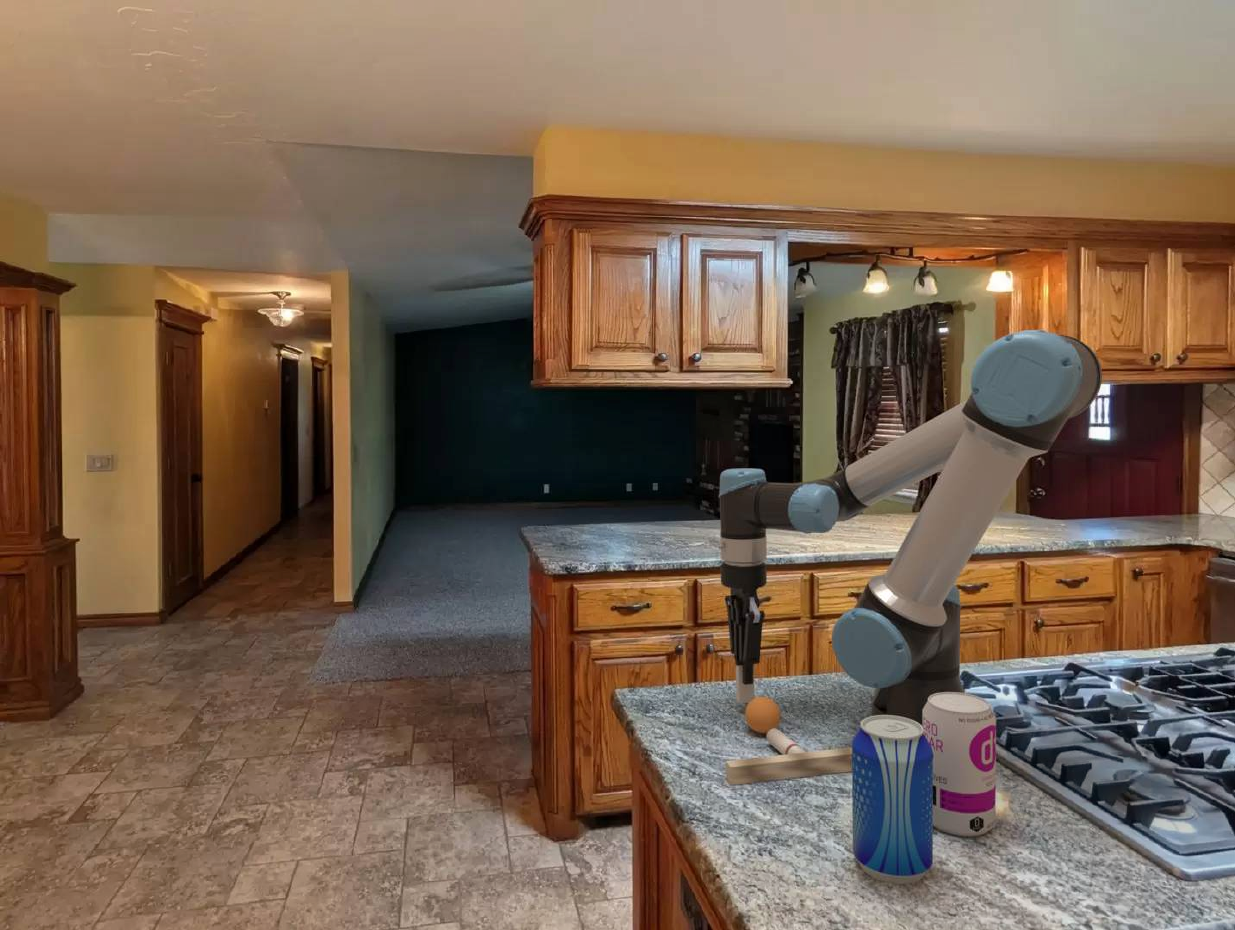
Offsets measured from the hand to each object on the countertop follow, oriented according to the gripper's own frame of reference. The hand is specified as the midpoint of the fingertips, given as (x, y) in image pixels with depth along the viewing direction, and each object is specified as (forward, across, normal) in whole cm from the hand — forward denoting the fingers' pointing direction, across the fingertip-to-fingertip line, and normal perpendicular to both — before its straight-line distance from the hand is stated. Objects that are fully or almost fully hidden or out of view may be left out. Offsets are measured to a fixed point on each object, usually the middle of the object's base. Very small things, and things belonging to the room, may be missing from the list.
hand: (745, 700), depth 138 cm
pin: (+1, +14, 0) cm, 14 cm away
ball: (-1, +9, 0) cm, 9 cm away
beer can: (+2, +48, 0) cm, 48 cm away
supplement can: (+2, +41, +13) cm, 43 cm away
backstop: (+2, +24, 0) cm, 24 cm away
